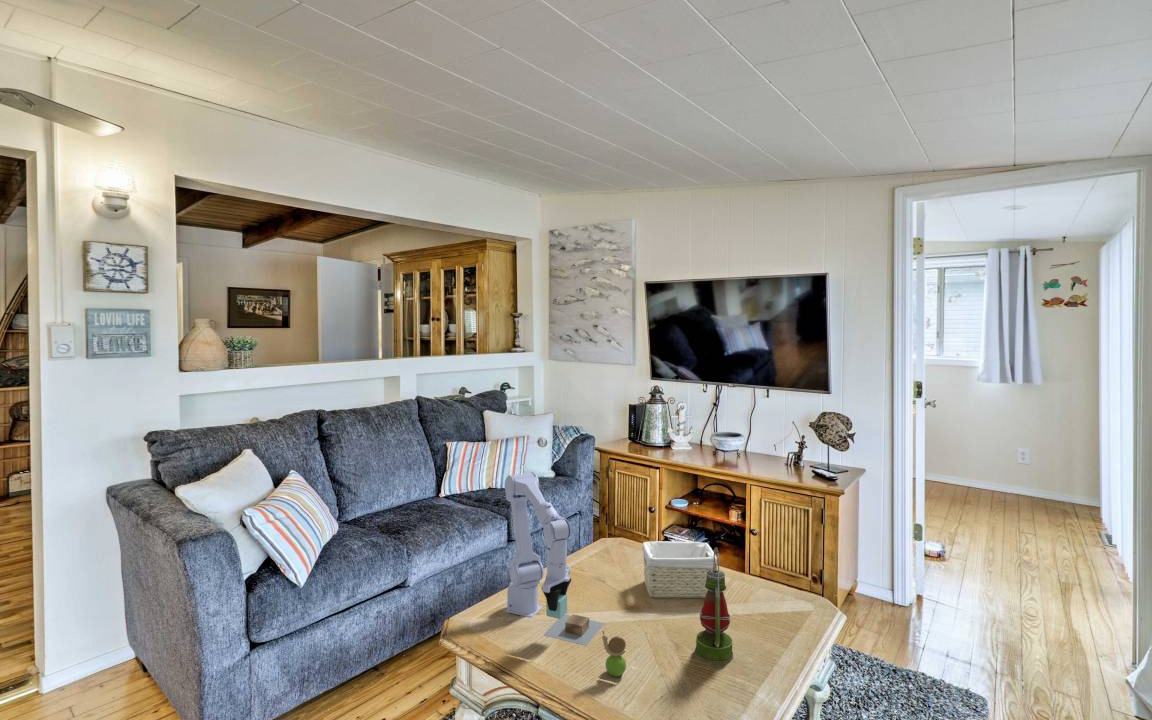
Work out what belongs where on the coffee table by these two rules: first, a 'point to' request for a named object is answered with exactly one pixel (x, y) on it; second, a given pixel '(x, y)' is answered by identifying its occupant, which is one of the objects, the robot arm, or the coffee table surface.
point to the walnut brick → (577, 625)
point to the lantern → (714, 621)
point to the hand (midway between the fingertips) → (556, 606)
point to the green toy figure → (615, 655)
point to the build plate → (559, 632)
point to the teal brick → (558, 608)
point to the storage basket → (677, 568)
